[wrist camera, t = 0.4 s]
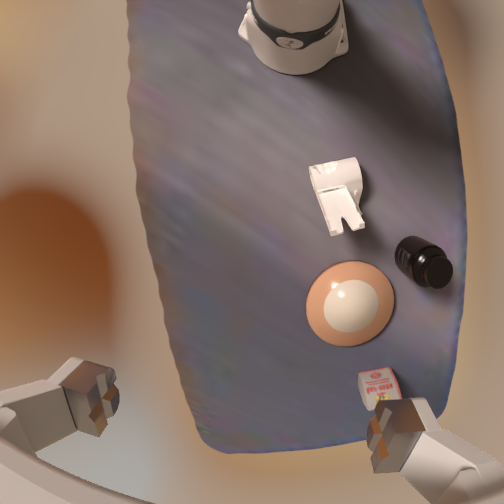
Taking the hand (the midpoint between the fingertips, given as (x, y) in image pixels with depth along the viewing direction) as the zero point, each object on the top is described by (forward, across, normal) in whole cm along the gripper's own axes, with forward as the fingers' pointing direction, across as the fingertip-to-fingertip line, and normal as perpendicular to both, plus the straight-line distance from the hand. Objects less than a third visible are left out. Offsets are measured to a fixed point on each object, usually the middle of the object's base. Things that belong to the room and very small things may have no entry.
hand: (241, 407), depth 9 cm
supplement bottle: (+46, -25, +4) cm, 52 cm away
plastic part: (+46, -10, -5) cm, 47 cm away
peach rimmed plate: (+46, -15, +14) cm, 50 cm away
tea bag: (+46, -23, +30) cm, 60 cm away
